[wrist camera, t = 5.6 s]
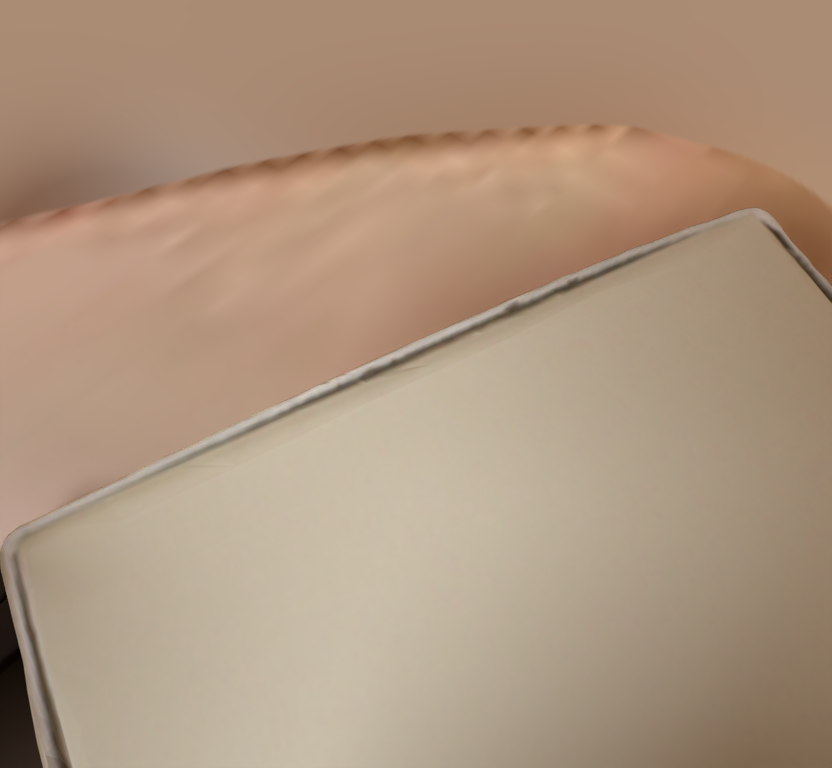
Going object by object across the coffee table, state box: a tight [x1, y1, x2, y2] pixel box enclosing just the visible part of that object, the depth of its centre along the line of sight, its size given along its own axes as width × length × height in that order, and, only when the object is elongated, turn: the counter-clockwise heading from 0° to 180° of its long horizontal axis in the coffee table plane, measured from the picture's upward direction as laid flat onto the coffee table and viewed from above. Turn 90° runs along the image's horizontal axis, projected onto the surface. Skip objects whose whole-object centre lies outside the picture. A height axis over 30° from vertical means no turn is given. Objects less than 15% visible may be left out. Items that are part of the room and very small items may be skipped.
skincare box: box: [0, 208, 832, 768], centre depth 9 cm, size 6×4×12 cm
